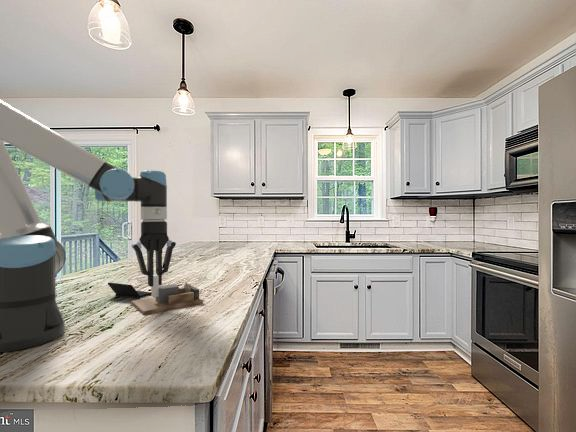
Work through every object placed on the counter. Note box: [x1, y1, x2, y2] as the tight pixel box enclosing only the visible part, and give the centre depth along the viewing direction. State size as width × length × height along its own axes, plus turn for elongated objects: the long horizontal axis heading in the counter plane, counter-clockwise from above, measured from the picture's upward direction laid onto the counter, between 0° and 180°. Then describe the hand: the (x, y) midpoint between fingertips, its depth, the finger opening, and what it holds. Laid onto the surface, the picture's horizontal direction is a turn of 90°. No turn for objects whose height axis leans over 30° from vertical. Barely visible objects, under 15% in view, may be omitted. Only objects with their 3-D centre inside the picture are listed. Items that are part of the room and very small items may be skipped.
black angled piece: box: [107, 282, 151, 300], centre depth 110 cm, size 12×7×10 cm
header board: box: [131, 282, 204, 316], centre depth 101 cm, size 18×14×5 cm
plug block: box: [156, 284, 180, 304], centre depth 101 cm, size 6×4×4 cm, turn 129°
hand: (155, 296), depth 98 cm, fingers closed
